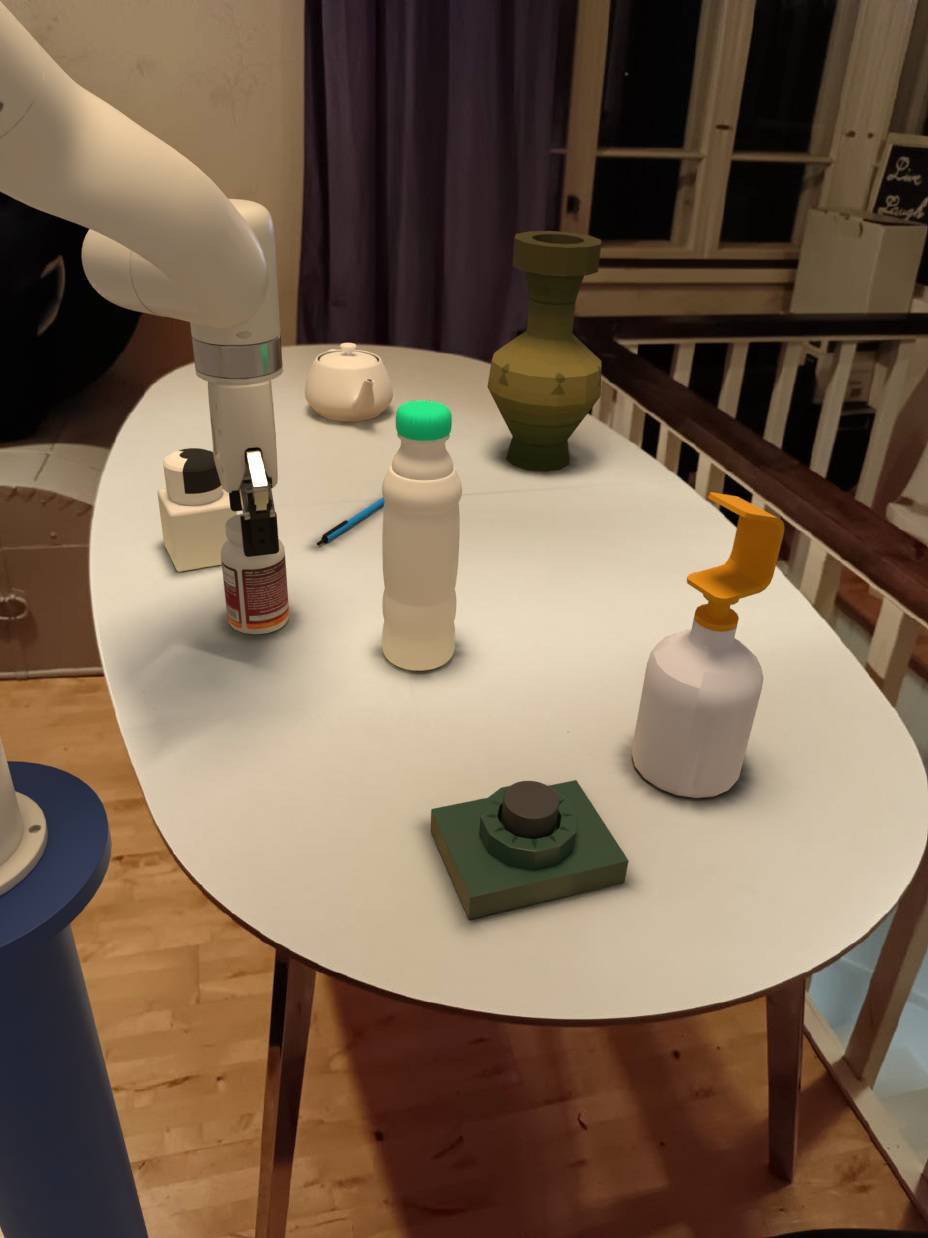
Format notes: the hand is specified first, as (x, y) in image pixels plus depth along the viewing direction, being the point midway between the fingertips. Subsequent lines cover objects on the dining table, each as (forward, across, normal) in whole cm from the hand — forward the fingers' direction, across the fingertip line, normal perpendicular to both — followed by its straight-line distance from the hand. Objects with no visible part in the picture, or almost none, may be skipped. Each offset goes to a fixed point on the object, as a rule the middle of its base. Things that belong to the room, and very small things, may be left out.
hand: (254, 530), depth 92 cm
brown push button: (+6, +38, +14) cm, 41 cm away
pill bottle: (+10, 0, 0) cm, 10 cm away
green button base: (+10, +38, +14) cm, 42 cm away
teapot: (+11, -58, +23) cm, 63 cm away
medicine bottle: (+10, -16, -4) cm, 19 cm away
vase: (+11, -34, +45) cm, 57 cm away
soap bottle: (+10, +32, +31) cm, 46 cm away
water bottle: (+10, +10, +14) cm, 20 cm away
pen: (+11, -21, +16) cm, 28 cm away
